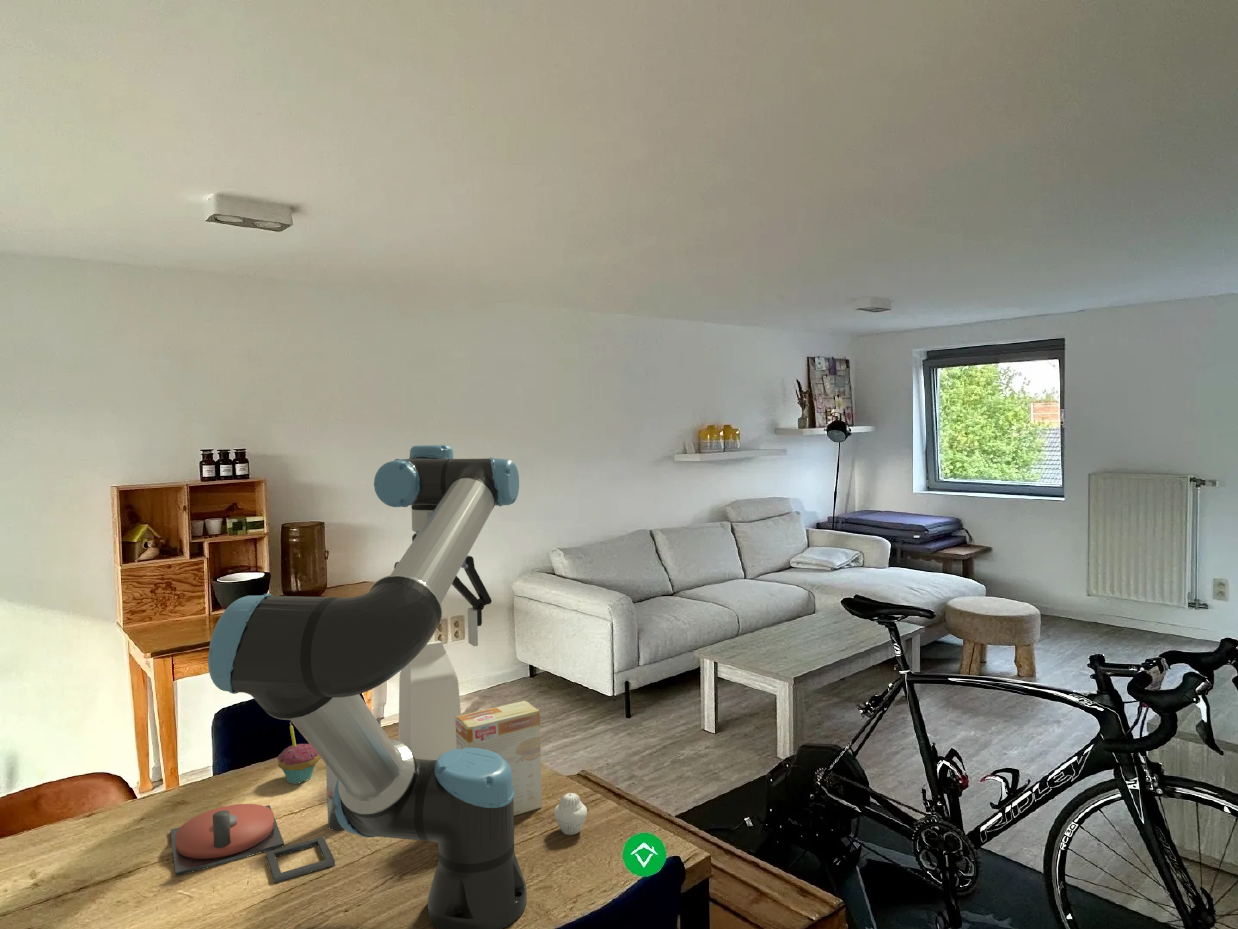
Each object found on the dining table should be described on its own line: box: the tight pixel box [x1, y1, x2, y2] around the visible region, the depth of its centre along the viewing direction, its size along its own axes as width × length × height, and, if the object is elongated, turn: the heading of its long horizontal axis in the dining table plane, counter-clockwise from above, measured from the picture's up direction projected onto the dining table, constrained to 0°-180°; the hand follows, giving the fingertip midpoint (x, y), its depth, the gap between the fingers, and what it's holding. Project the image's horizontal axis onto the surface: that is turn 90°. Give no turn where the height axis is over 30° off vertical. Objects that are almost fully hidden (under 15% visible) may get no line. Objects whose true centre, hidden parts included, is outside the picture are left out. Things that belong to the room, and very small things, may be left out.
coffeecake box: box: [456, 700, 543, 817], centre depth 153 cm, size 15×7×20 cm, turn 122°
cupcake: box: [276, 721, 322, 784], centre depth 168 cm, size 9×8×12 cm
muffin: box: [553, 792, 588, 836], centre depth 145 cm, size 6×6×7 cm
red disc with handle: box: [176, 803, 275, 859], centre depth 144 cm, size 16×16×7 cm
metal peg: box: [325, 764, 343, 831], centre depth 149 cm, size 5×5×14 cm
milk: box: [397, 640, 462, 760], centre depth 178 cm, size 12×12×26 cm
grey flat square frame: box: [265, 836, 336, 884], centre depth 137 cm, size 10×10×1 cm
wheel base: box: [170, 804, 285, 877], centre depth 144 cm, size 17×17×1 cm
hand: (437, 650), depth 141 cm, fingers open, 13 cm apart
